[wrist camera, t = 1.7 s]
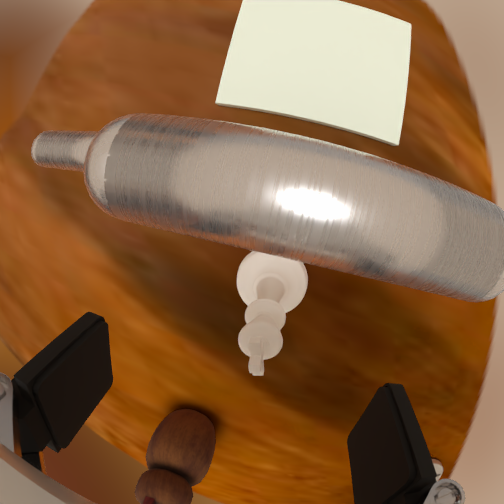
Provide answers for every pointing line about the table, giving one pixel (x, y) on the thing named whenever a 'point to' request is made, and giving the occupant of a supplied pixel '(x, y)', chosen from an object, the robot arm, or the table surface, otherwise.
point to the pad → (320, 65)
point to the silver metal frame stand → (288, 200)
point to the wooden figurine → (177, 458)
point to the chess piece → (267, 303)
